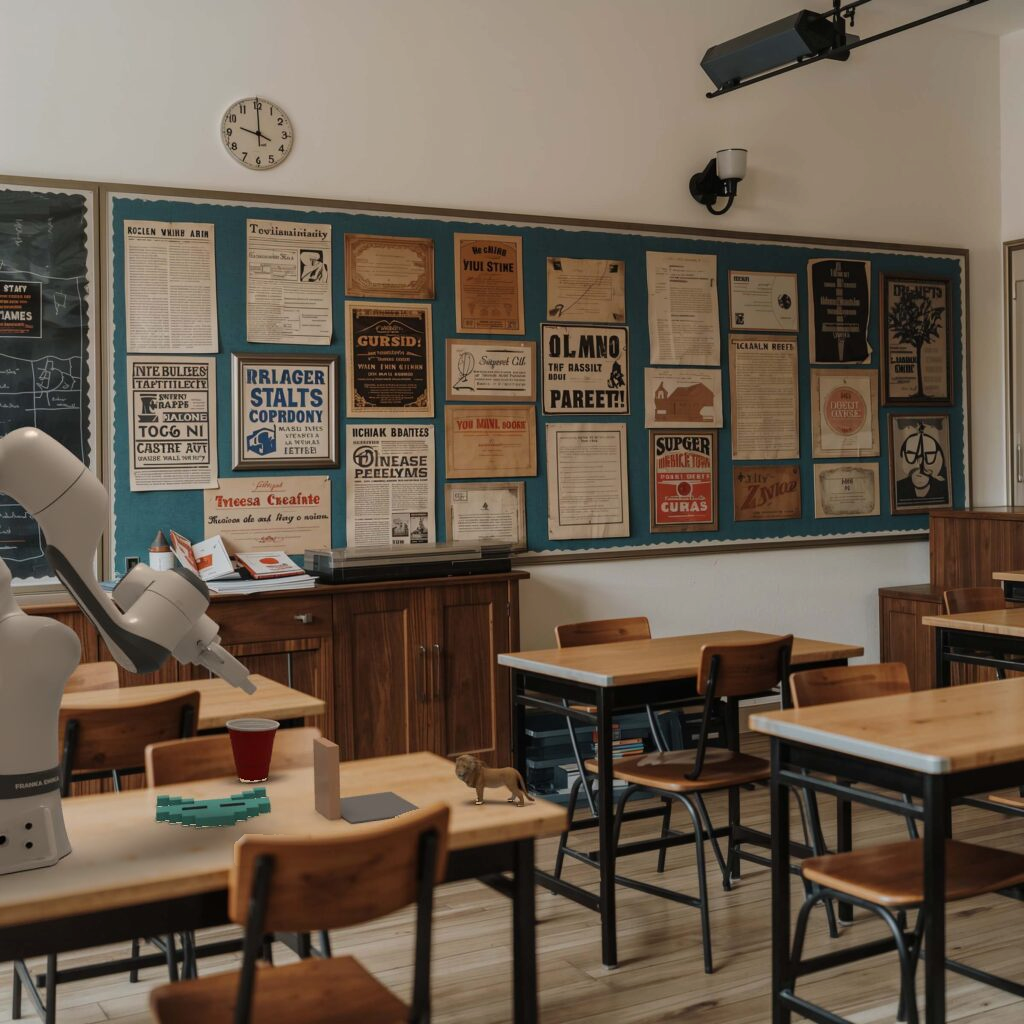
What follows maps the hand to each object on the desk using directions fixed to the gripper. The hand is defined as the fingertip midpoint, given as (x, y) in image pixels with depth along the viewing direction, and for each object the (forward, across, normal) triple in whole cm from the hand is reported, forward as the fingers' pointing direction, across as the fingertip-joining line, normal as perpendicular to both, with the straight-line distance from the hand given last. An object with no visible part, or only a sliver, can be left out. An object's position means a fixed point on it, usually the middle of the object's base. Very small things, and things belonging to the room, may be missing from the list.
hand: (252, 691), depth 215 cm
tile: (+26, +2, +7) cm, 27 cm away
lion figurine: (+47, -6, -13) cm, 49 cm away
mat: (+32, +2, +1) cm, 32 cm away
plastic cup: (+22, +36, +12) cm, 44 cm away
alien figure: (+14, +12, +21) cm, 28 cm away
